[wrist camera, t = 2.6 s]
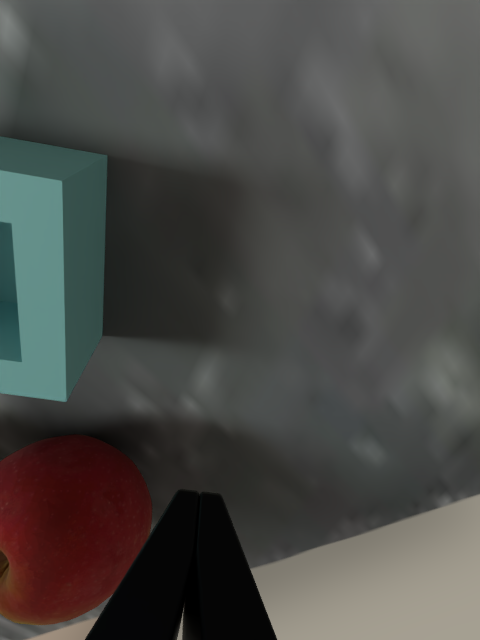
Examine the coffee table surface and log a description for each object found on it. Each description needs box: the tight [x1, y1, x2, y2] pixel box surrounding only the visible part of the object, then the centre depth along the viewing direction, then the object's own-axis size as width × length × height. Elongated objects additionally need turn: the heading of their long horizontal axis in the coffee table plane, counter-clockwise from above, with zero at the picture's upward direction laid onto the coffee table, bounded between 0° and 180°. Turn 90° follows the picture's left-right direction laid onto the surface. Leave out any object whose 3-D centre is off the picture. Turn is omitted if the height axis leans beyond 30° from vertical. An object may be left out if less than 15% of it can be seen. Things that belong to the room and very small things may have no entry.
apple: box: [0, 434, 152, 625], centre depth 21 cm, size 8×8×8 cm
